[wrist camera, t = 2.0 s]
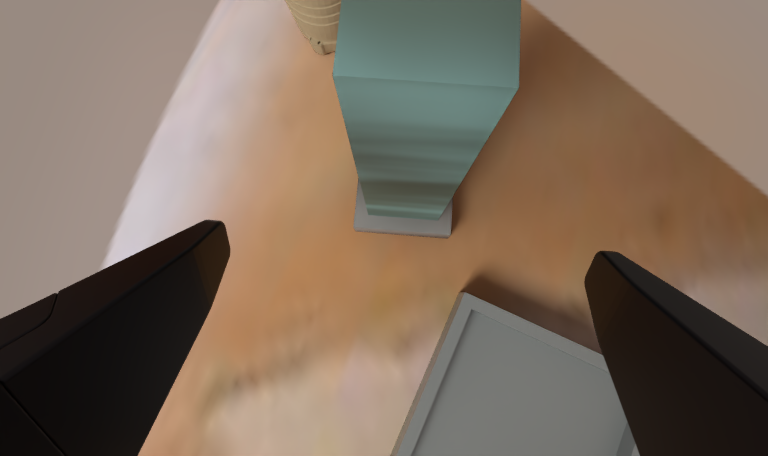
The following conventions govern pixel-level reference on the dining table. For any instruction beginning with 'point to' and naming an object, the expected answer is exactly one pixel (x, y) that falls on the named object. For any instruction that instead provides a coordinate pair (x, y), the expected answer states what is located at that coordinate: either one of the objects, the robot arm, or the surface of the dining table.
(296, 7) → the handle
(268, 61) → the dining table surface
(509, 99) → the teal green tall block
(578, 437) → the tray
